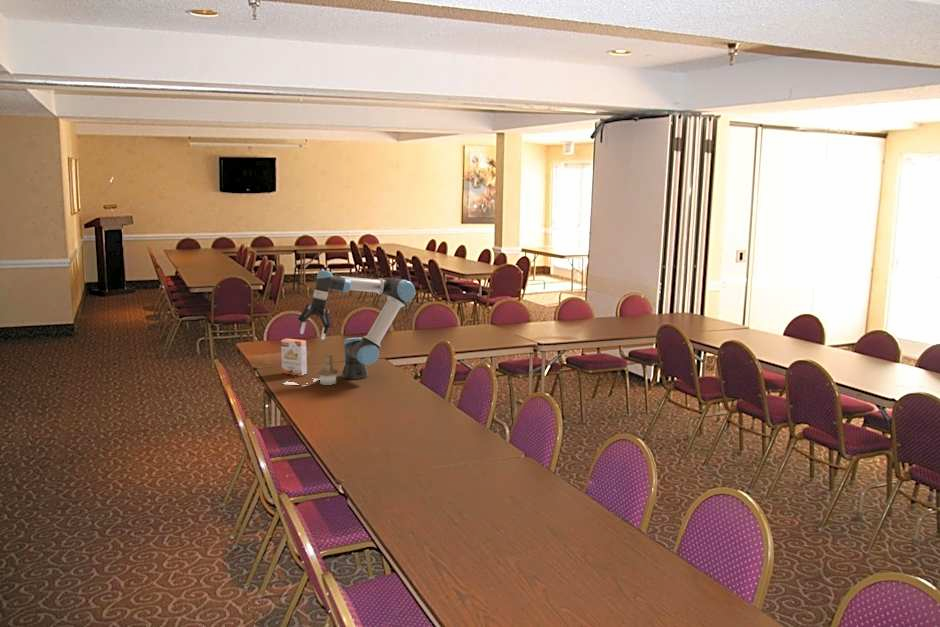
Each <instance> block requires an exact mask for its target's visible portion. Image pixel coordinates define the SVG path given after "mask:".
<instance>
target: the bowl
mask: <svg viewBox="0 0 940 627" xmlns="http://www.w3.org/2000/svg"><path fill="white" fill-rule="evenodd" d="M337 375H338V373H337V374H335V375H328V376H325V375H319V379H320V381H319V384H320V385H322V384H323V385H332V384H334V385H335V384H336V383H337ZM323 385H322V386H323ZM332 386H333V385H332Z"/></svg>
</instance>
